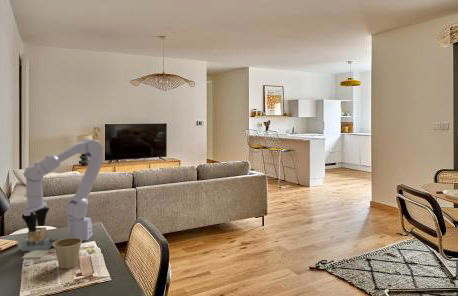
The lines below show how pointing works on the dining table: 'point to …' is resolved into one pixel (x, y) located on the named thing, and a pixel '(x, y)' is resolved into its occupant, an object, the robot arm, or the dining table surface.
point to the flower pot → (67, 252)
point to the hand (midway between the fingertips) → (36, 228)
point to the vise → (37, 244)
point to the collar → (37, 234)
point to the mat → (36, 254)
